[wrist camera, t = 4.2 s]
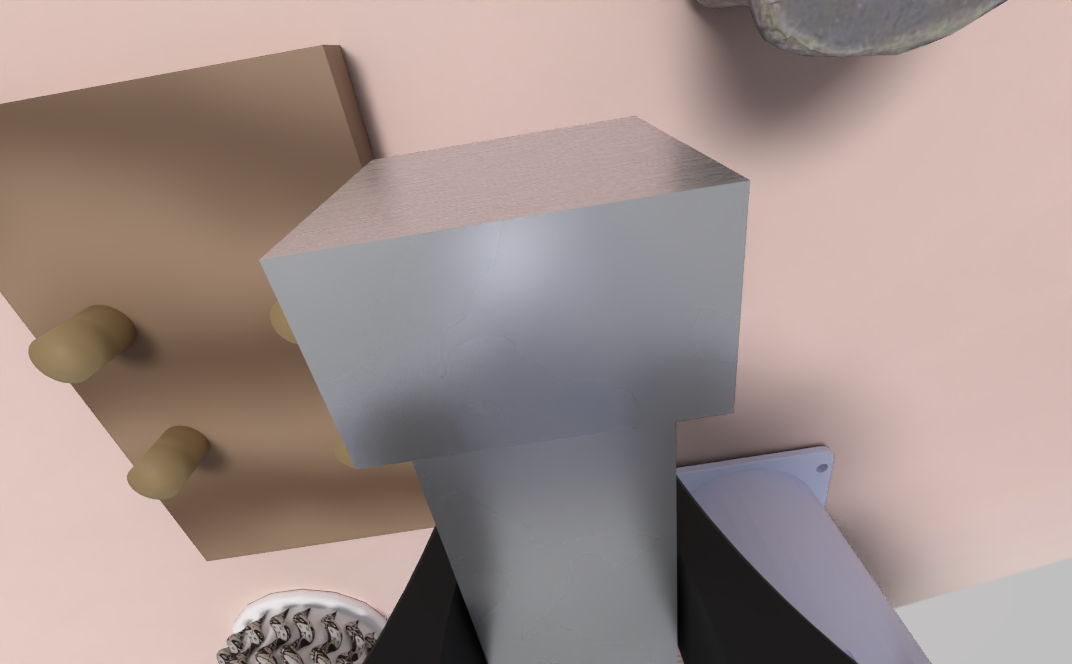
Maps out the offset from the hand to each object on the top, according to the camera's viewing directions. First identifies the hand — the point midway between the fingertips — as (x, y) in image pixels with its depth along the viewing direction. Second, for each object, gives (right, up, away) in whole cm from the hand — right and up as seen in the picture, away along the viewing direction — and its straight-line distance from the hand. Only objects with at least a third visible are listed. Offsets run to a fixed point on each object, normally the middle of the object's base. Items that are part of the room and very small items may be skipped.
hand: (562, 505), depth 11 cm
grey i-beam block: (0, +1, +2) cm, 2 cm away
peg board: (-11, +3, +7) cm, 13 cm away
